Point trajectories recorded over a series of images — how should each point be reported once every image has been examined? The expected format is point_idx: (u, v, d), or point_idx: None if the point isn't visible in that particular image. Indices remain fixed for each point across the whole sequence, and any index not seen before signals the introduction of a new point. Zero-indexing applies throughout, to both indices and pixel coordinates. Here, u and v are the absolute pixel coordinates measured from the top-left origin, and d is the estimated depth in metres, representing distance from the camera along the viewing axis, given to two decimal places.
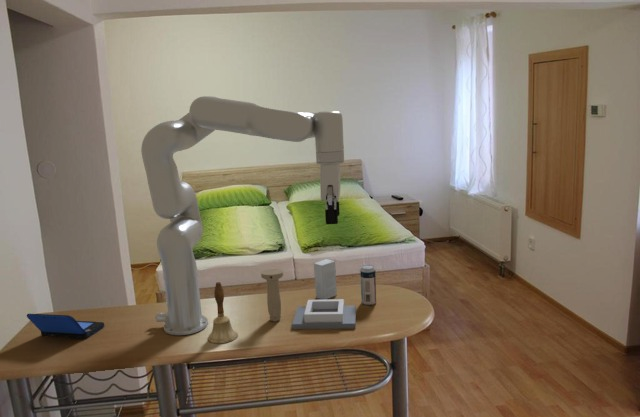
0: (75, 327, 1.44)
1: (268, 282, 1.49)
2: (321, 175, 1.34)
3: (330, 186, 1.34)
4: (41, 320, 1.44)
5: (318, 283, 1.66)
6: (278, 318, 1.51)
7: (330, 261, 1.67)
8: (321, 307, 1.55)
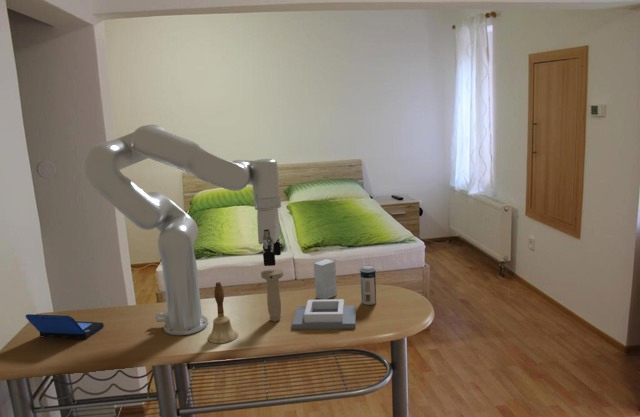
0: (74, 327, 1.43)
1: (268, 282, 1.49)
2: (258, 220, 1.42)
3: (266, 230, 1.42)
4: (40, 321, 1.44)
5: (318, 283, 1.66)
6: (278, 318, 1.51)
7: (330, 261, 1.67)
8: (321, 307, 1.55)
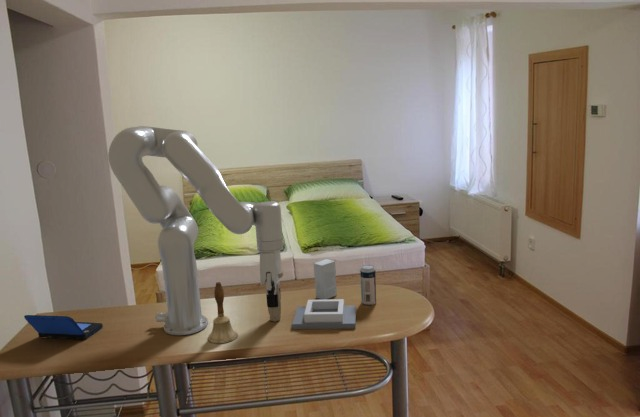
0: (74, 328, 1.43)
1: None
2: (260, 262, 1.45)
3: (269, 275, 1.45)
4: (39, 321, 1.43)
5: (318, 283, 1.66)
6: (278, 318, 1.51)
7: (330, 261, 1.67)
8: (321, 307, 1.55)
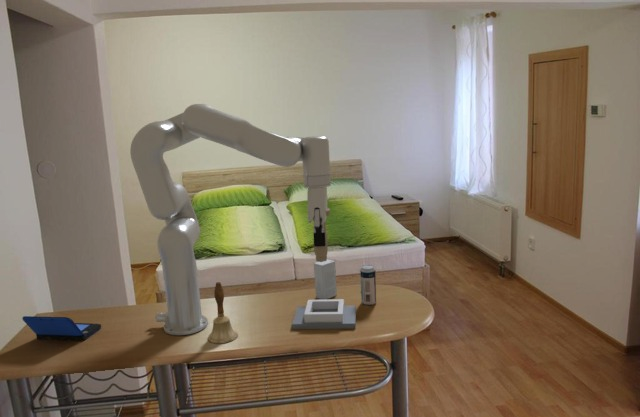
0: (73, 329, 1.42)
1: None
2: (308, 198, 1.40)
3: (317, 211, 1.40)
4: (37, 323, 1.43)
5: (318, 283, 1.66)
6: (325, 258, 1.47)
7: (330, 261, 1.67)
8: (321, 307, 1.55)
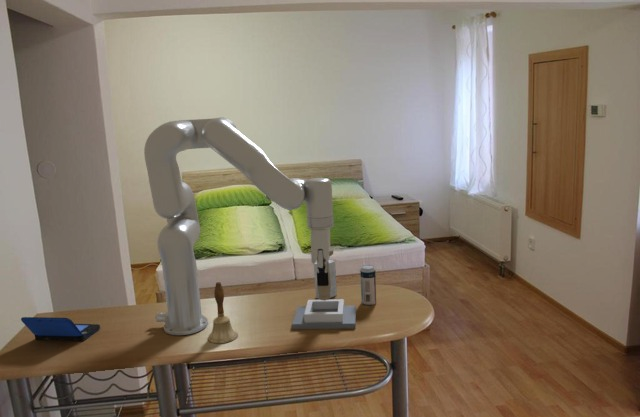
0: (72, 329, 1.42)
1: None
2: (312, 239, 1.42)
3: (320, 252, 1.42)
4: (36, 323, 1.42)
5: None
6: (328, 297, 1.49)
7: (330, 261, 1.67)
8: (321, 307, 1.55)
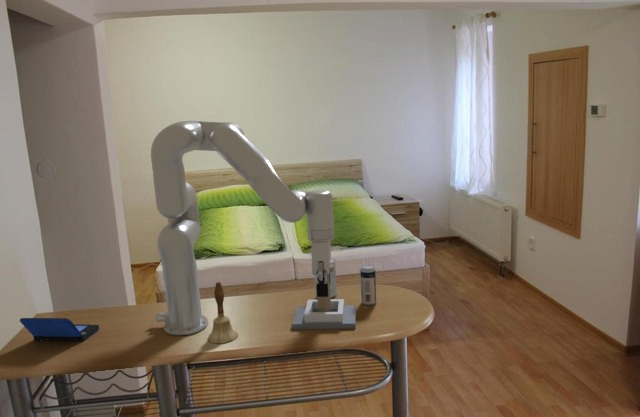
0: (72, 330, 1.42)
1: None
2: (312, 252, 1.43)
3: (321, 262, 1.43)
4: (35, 324, 1.42)
5: None
6: None
7: None
8: None
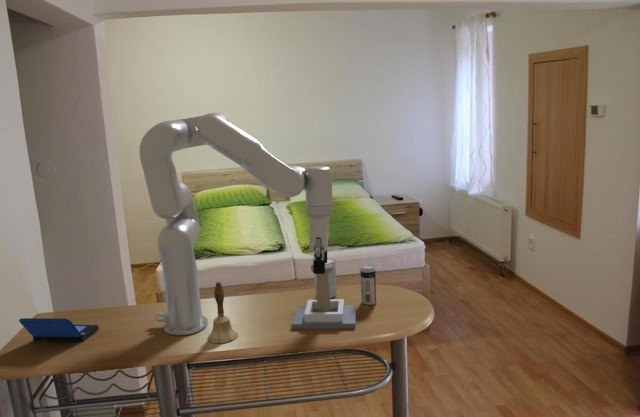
0: (71, 330, 1.42)
1: (318, 276, 1.47)
2: (310, 228, 1.41)
3: (318, 238, 1.41)
4: (35, 325, 1.41)
5: None
6: None
7: (330, 261, 1.67)
8: None
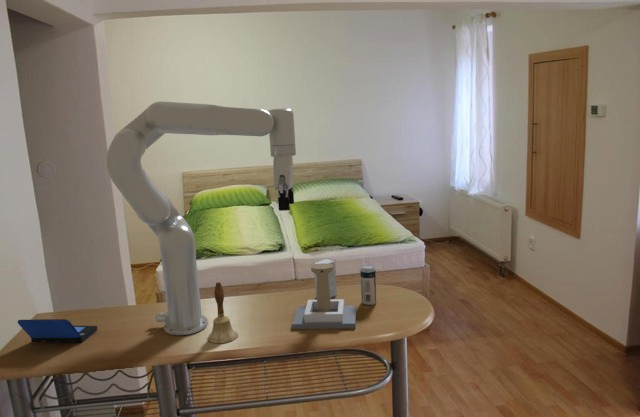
0: (70, 331, 1.41)
1: (318, 276, 1.47)
2: (274, 166, 1.49)
3: (282, 176, 1.49)
4: (33, 326, 1.41)
5: None
6: None
7: (330, 261, 1.67)
8: None
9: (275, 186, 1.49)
